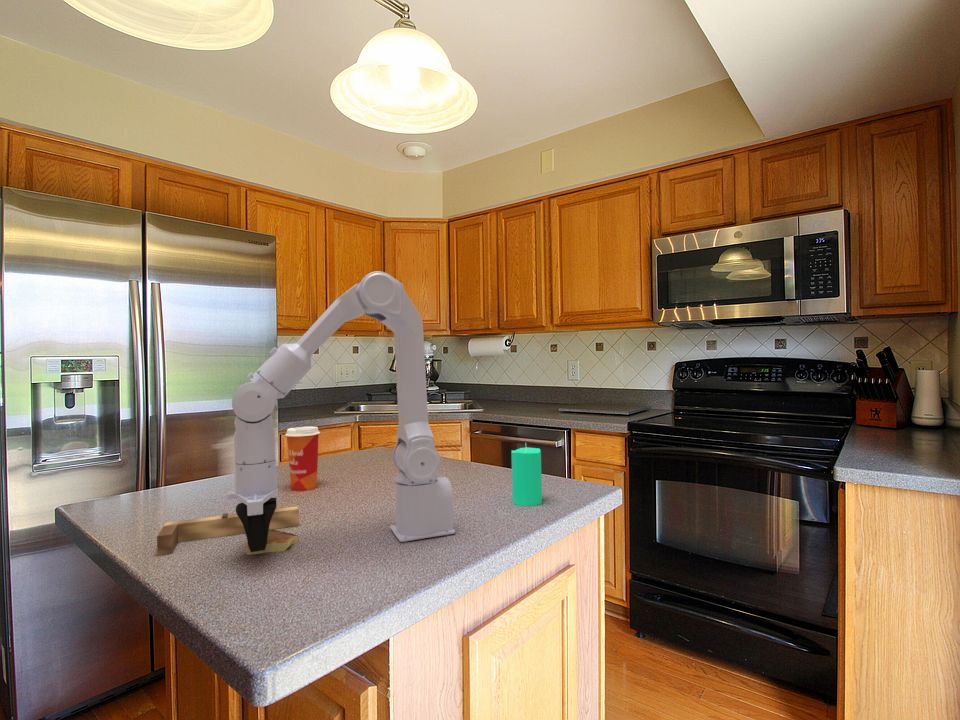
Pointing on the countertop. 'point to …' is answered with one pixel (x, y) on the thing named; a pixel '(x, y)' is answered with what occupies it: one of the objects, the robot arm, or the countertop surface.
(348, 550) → the countertop surface
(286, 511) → the oak ledge
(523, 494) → the candle
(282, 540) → the shard
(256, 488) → the robot arm
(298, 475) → the paper cup
